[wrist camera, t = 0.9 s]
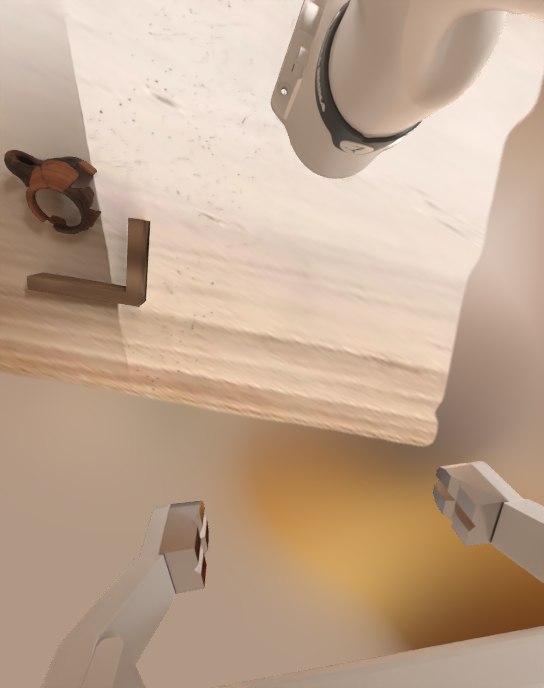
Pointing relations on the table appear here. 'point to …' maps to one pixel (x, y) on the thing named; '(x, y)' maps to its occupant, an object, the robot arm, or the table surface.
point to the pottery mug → (54, 185)
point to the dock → (104, 291)
